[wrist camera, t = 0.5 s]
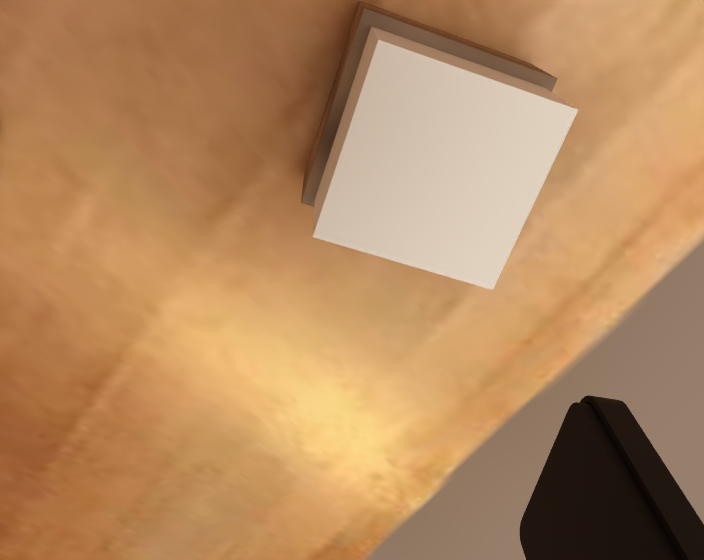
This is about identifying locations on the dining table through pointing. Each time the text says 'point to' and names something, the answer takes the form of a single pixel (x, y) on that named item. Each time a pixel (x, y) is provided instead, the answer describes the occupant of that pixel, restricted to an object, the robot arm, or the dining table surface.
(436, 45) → the tower bottom
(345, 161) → the tower top
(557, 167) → the dining table surface
